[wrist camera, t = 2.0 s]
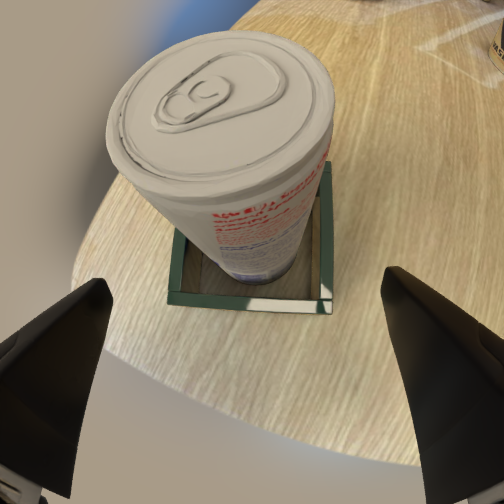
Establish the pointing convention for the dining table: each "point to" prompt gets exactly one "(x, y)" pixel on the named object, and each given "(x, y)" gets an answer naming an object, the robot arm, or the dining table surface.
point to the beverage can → (229, 144)
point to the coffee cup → (498, 48)
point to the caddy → (322, 281)
